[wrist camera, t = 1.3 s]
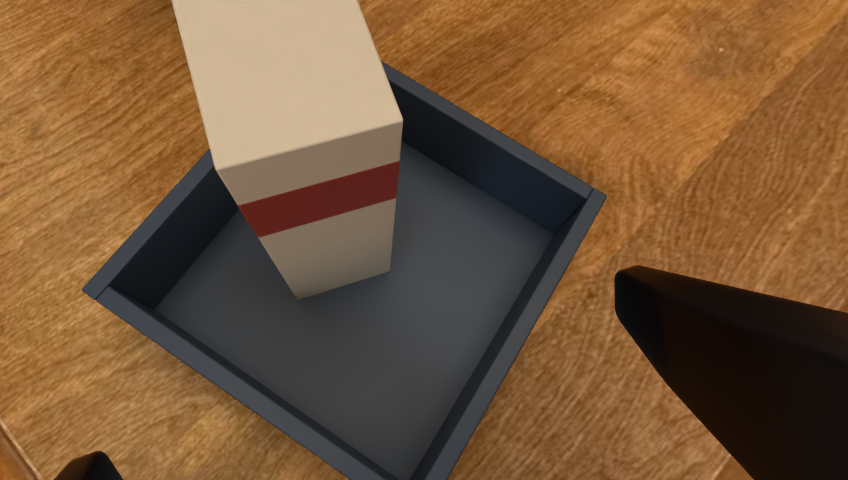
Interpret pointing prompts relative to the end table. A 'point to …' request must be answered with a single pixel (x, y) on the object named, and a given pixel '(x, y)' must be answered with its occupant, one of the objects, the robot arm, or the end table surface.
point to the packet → (300, 131)
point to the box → (366, 296)
